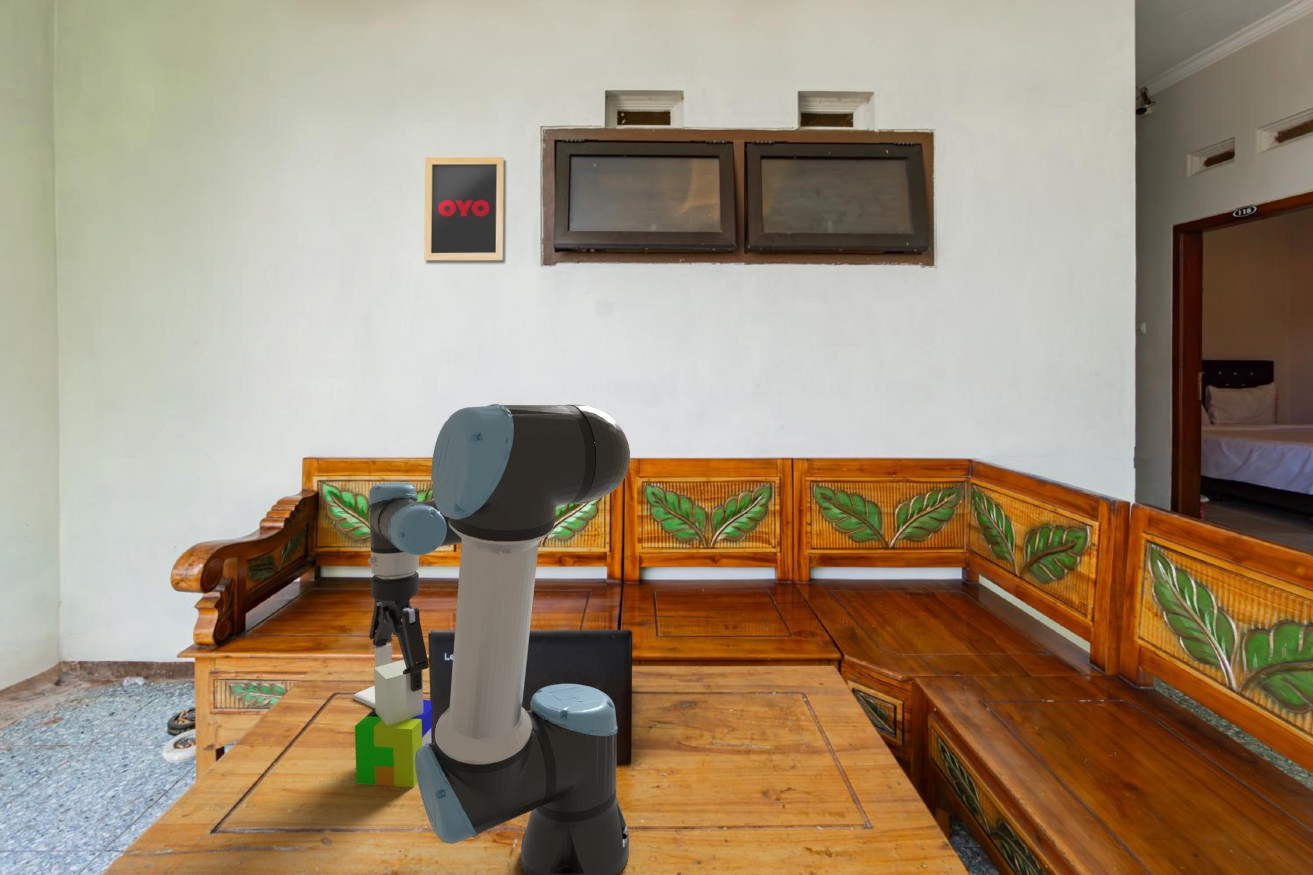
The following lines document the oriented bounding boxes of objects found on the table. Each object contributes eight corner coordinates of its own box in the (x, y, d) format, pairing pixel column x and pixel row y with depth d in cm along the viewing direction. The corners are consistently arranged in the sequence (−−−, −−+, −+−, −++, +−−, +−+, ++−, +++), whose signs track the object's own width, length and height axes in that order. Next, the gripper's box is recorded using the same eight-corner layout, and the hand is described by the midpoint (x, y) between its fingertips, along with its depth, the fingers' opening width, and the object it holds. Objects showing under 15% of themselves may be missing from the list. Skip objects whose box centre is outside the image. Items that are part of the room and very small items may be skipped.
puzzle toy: (440, 753, 115) (439, 700, 114) (413, 787, 105) (412, 729, 104) (387, 750, 116) (386, 697, 115) (356, 783, 106) (354, 725, 105)
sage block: (423, 713, 109) (422, 668, 109) (387, 725, 105) (386, 679, 105) (410, 701, 114) (408, 658, 113) (375, 712, 110) (374, 667, 109)
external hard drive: (387, 686, 143) (423, 701, 136) (353, 701, 136) (389, 717, 129) (387, 679, 142) (423, 693, 136) (353, 694, 136) (388, 709, 129)
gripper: (348, 563, 115) (351, 677, 116) (401, 594, 97) (405, 728, 98) (390, 556, 120) (393, 665, 121) (448, 584, 102) (451, 712, 103)
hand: (398, 693), depth 110 cm, fingers open, 13 cm apart
